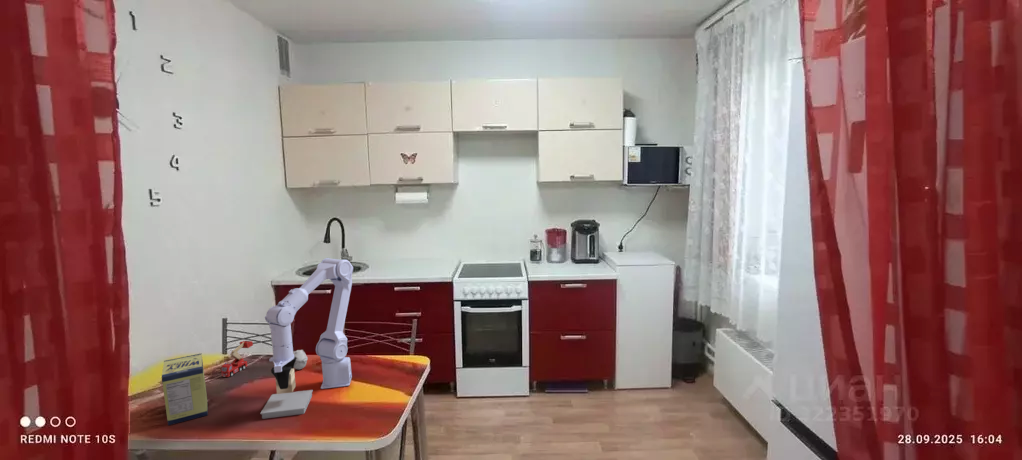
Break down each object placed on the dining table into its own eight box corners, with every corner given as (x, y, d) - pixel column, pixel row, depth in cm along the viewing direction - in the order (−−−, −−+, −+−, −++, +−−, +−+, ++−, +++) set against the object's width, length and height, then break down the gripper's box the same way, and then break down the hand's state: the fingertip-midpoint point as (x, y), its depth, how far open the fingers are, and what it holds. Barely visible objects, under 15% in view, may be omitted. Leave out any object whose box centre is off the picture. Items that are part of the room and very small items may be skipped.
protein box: (207, 396, 161) (201, 352, 159) (208, 415, 148) (203, 367, 146) (169, 405, 155) (163, 360, 153) (167, 426, 143) (161, 377, 140)
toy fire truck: (220, 377, 176) (217, 352, 174) (247, 362, 189) (245, 339, 188) (228, 378, 175) (225, 353, 174) (255, 363, 188) (252, 339, 187)
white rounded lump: (306, 363, 186) (305, 346, 185) (310, 369, 181) (308, 351, 180) (289, 367, 183) (288, 350, 182) (292, 373, 177) (291, 355, 176)
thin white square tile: (313, 396, 160) (312, 389, 159) (305, 415, 147) (304, 408, 147) (272, 401, 157) (272, 394, 157) (261, 421, 145) (260, 413, 145)
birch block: (295, 386, 154) (294, 368, 153) (292, 392, 150) (290, 374, 149) (280, 387, 153) (279, 369, 152) (276, 394, 149) (275, 375, 148)
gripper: (274, 337, 156) (278, 376, 157) (261, 353, 142) (265, 396, 143) (297, 334, 157) (301, 374, 159) (287, 351, 143) (290, 394, 145)
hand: (286, 384), depth 151 cm, fingers closed on birch block, 4 cm apart
